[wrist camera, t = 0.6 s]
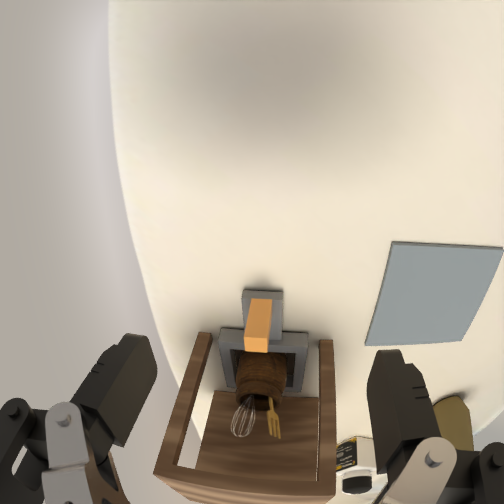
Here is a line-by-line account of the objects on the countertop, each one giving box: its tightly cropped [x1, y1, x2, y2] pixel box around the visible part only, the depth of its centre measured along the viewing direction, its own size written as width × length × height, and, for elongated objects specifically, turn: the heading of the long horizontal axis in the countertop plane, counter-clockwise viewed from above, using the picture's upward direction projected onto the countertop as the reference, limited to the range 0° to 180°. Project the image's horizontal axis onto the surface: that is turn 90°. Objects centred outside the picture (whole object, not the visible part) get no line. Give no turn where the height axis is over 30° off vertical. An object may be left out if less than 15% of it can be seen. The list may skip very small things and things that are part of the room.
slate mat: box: [365, 242, 504, 346], centre depth 28 cm, size 14×14×1 cm
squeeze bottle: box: [433, 396, 474, 451], centre depth 33 cm, size 8×8×18 cm
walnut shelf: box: [153, 332, 336, 504], centre depth 31 cm, size 16×16×18 cm
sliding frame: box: [218, 290, 308, 392], centre depth 32 cm, size 16×10×6 cm, turn 3°
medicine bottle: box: [336, 436, 376, 495], centre depth 46 cm, size 7×7×12 cm
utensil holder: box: [231, 350, 287, 439], centre depth 32 cm, size 6×6×12 cm
